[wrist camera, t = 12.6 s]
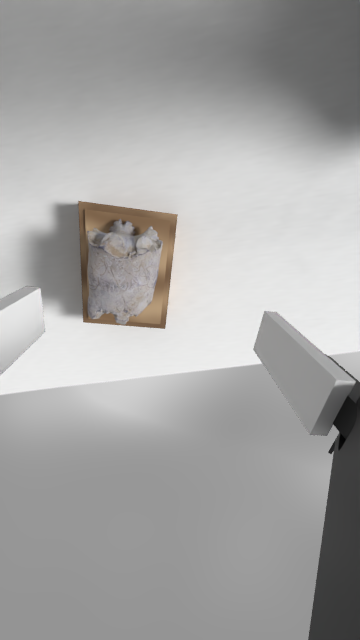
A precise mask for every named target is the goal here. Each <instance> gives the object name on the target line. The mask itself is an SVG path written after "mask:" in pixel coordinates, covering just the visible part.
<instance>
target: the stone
mask: <svg viewBox="0 0 360 640" xmlns="http://www.w3.org/2000/svg"><path fill="white" fill-rule="evenodd" d="M134 229H135V228H134V227H133V226H132V223H131V222H129V221H126V222H125V223H124V224H123V223H122V221H121V219H119V220H118V221H115V222H114V223H113V226H111V227H110V230H109V231H110V233H108V234H107V233H103V232H101V231H99V230H98V229H96V228H94V229H93V231H87V236H88V245H89V255H88V256H89V258H88V281H89V297H88V315H89V317H90V318H91V319H99V318H100V317H101V315H103V314H104V313H106V314H108V313H112V314H113V315H114V317H115V320H116V323H119V324H122V325H124V324H126V322H127V321H129V317H131V316H135V317H137V316H138V315H139V314H140V313H141V312H142V311H143V310H144V309H145V308H146V307H147V306H148V305H149V304H151V302H152V299H153V293H154V289H155V285H156V281H157V277H158V271H159V263H160V257H161V251H162V245H163V242H162V241H161V240H159V237H157V235H158V233H157V232H156V231H155V230H153V228H152V226H150V227H149V228H148V229H147V230H146V231H145V232H144V233H142V234H140V235H137V236H135V235H134V234H135V231H134Z"/></svg>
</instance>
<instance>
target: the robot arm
mask: <svg viewBox="0 0 360 640" xmlns="http://www.w3.org/2000/svg"><path fill="white" fill-rule="evenodd" d="M44 332H45V324H44V315H43V306H42V297H41V288H39V287H30V286H25V287H23V288H21V289H19V290H17V291H15V292H13V293H11V294H9V295H7V296H5V297H3V298H2V299H0V375H1V374H2V373H3V372H4V371H5V370H6V369H7V368H8V367H10V366H11V365H12V364H13V363H14V362H15V361H16V360H17V359H18V358H19V357H20V356H21V355H22V354H23V353H24V352H25V351H26V350H27V349H28V348H29V347H30V346H31V345H32V344H33V343H34V342H35V341H36V340H37V339H38V338H39V337H40V336H41V335H42V334H43V333H44ZM253 350H254V351H255V353H256V354H257V356H258V357H259V359H260V360H261V362H262V363H263V365H264V366H265V368H266V369H267V371H268V372H269V374H270V375H271V377H272V379H273V380H274V381H275V383H276V385H277V386H278V388H279V389H280V391H281V392H282V394H283V395H284V397H285V398H286V399H287V401H288V403H289V404H290V406H291V407H292V409H293V410H294V412H295V413H296V415H297V416H298V418H299V419H300V421H301V422H302V424H303V426H304V427H305V429H306V430H307V432H308V433H309V434H310V435H325V436H327V435H328V433H329V431H330V429H331V427H332V425H333V424H334V426H336V428H337V429H338V430H339V434H338V436H337V438H336V440H335V441H334V443H333V445H332V447H331V448H330V450H329V453H330V454H332V452H333V451H334V455H333V463H332V470H331V477H330V485H329V492H328V499H327V506H326V514H325V522H324V528H323V536H322V544H321V551H320V558H319V565H318V573H317V580H316V588H315V595H314V602H313V610H312V617H311V625H310V632H309V639H308V640H360V382H359V381H358V380H357V379H355V378H354V377H353V376H352V375H351V374H349V373H348V372H347V371H345V369H344V368H343V367H341V366H339V365H338V363H337V362H336V361H334V360H333V359H332V358H331V357H329V356H327V355H325V354H324V353H323V352H322V351H320V350H319V349H318V348H317V347H316V346H315V345H314V344H312V343H311V342H310V341H309V340H308V339H307V338H306V337H304V336H303V335H302V334H301V333H300V332H299V331H297V330H296V329H295V328H294V327H293V326H292V325H291V324H289V323H288V322H287V321H286V320H285V319H284V318H283V317H281V316H280V315H279V314H278V313H277V312H270V311H264V315H263V318H262V322H261V325H260V328H259V332H258V335H257V338H256V342H255V345H254V349H253Z"/></svg>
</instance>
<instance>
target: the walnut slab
mask: <svg viewBox="0 0 360 640" xmlns="http://www.w3.org/2000/svg"><path fill="white" fill-rule="evenodd" d="M78 202H79V227H80V251H81V275H82V299H83V322H87V323H99V324H112V325H122V324H119V323H116V320H115V317H114V315H113V314H112V313H108V314H106V313H104V314H103V315H101V317H100V318H99V319H91V318H90V317H89V315H88V297H89V281H88V258H89V256H88V255H89V245H88V236H87V231H93V229H94V228H96V229H98V230H99V231H101V232H103V233H107V234H108V233H110V231H109V230H110V227H111V226H113V223H114V222H115V221H118V220H119V219H121V221H122V223H123V224H124V223H125V222H126V221H129V222H131V223H132V226H133V227H134V228H135V229H134V231H135V234H134V235H135V236H137V235H140V234H142V233H144V232H145V231H146V230H147V229H148V228H149V227H150V226H152V228H153V230H155V231H156V232H157V233H158V235H157V237H159V240H161V241H162V242H163V245H162V251H161V257H160V263H159V271H158V277H157V281H156V285H155V289H154V293H153V299H152V302H151V304H149V305H148V306H147V307H146V308H145V309H144V310H143V311H142V312H141V313H140V314H139V315H138V316H137V317H135V316H131V317H129V321H127V322H126V324H124V325H125V326H138V327H150V328H163V329H165V325H166V315H167V306H168V297H169V288H170V279H171V269H172V260H173V251H174V242H175V233H176V223H177V215H176V214H169V213H162V212H154V211H147V210H140V209H133V208H125V207H118V206H111V205H103V204H96V203H89V202H81V201H78Z"/></svg>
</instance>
